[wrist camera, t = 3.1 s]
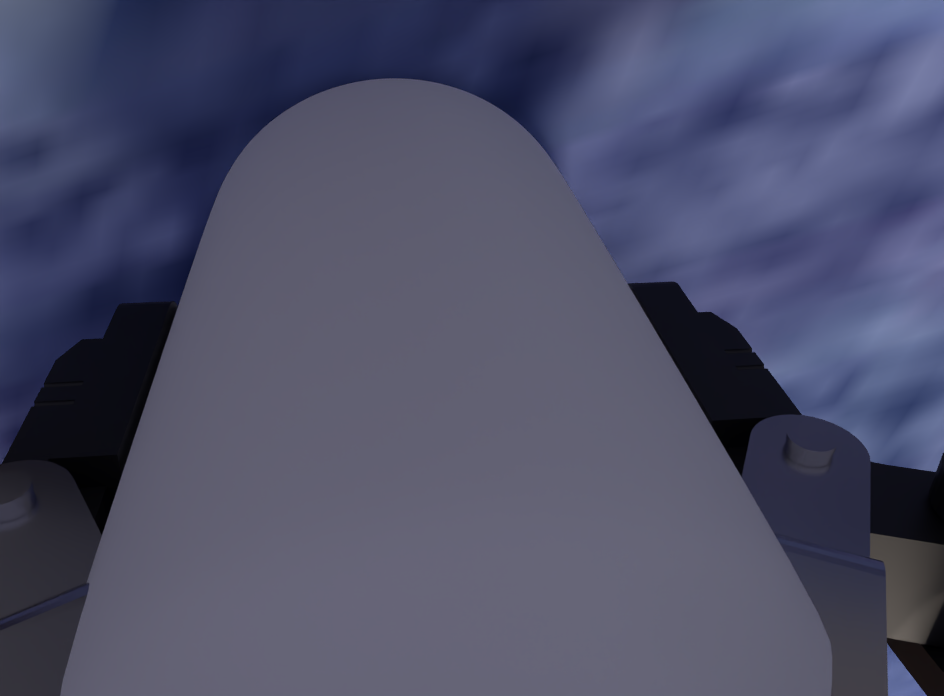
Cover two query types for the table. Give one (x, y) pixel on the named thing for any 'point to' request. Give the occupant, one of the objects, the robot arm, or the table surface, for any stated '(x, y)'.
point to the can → (427, 446)
